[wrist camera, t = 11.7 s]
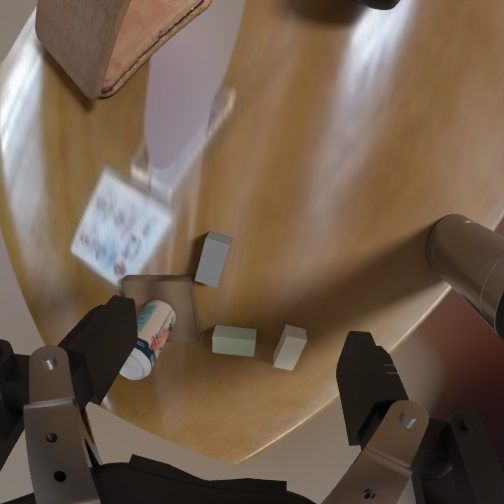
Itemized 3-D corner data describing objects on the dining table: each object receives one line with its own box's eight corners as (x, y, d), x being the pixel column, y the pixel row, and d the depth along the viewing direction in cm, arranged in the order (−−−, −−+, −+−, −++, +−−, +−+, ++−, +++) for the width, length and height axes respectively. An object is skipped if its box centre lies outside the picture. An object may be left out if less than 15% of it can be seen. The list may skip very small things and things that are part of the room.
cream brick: (285, 323, 43) (286, 335, 40) (305, 328, 43) (307, 340, 40) (273, 354, 45) (273, 366, 42) (291, 358, 45) (292, 370, 42)
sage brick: (256, 328, 44) (255, 340, 41) (255, 344, 45) (254, 357, 42) (215, 324, 44) (212, 336, 41) (215, 340, 45) (212, 352, 42)
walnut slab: (192, 275, 41) (188, 281, 39) (200, 335, 44) (198, 343, 43) (127, 275, 42) (121, 281, 40) (140, 332, 45) (136, 339, 43)
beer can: (166, 332, 42) (137, 388, 31) (140, 313, 41) (104, 365, 30) (183, 312, 41) (155, 369, 30) (155, 291, 40) (119, 343, 29)
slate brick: (210, 230, 39) (206, 237, 36) (233, 237, 39) (230, 245, 36) (199, 270, 41) (194, 280, 38) (220, 277, 41) (217, 287, 38)
